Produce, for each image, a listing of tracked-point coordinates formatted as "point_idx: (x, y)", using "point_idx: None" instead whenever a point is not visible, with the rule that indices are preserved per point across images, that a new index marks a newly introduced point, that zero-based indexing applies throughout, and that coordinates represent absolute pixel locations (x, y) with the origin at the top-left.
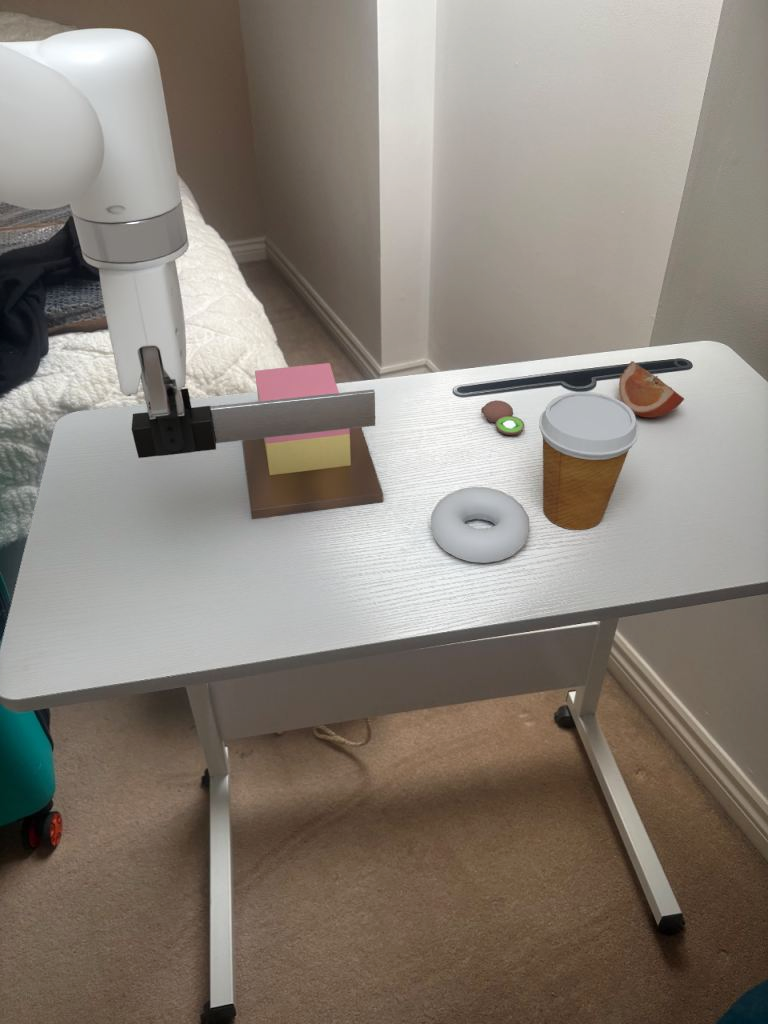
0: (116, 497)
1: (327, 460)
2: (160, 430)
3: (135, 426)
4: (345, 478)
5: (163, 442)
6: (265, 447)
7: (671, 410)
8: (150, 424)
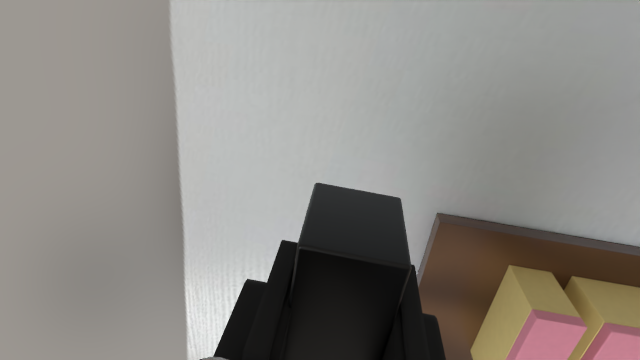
0: (631, 13)
1: (483, 339)
2: (223, 333)
3: (308, 261)
4: (446, 337)
5: (240, 296)
6: (584, 278)
7: None
8: (253, 322)
